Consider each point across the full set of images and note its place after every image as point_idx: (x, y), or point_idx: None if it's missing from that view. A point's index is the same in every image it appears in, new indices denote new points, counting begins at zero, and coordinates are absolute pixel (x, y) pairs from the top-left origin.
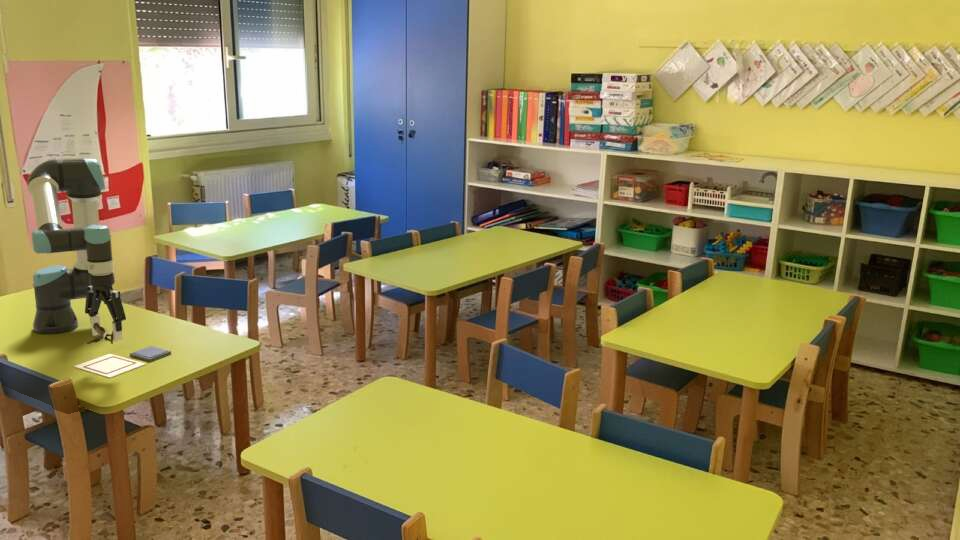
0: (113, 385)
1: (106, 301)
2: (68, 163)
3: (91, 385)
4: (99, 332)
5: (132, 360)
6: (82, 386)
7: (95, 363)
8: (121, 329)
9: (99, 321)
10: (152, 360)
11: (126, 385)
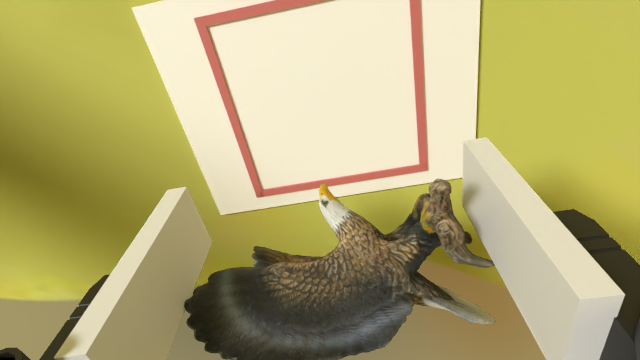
0: (556, 198)
1: None
2: None
3: (471, 246)
4: (344, 303)
5: None
6: (450, 267)
7: (247, 140)
8: (592, 228)
9: (135, 283)
10: None
11: (614, 165)
